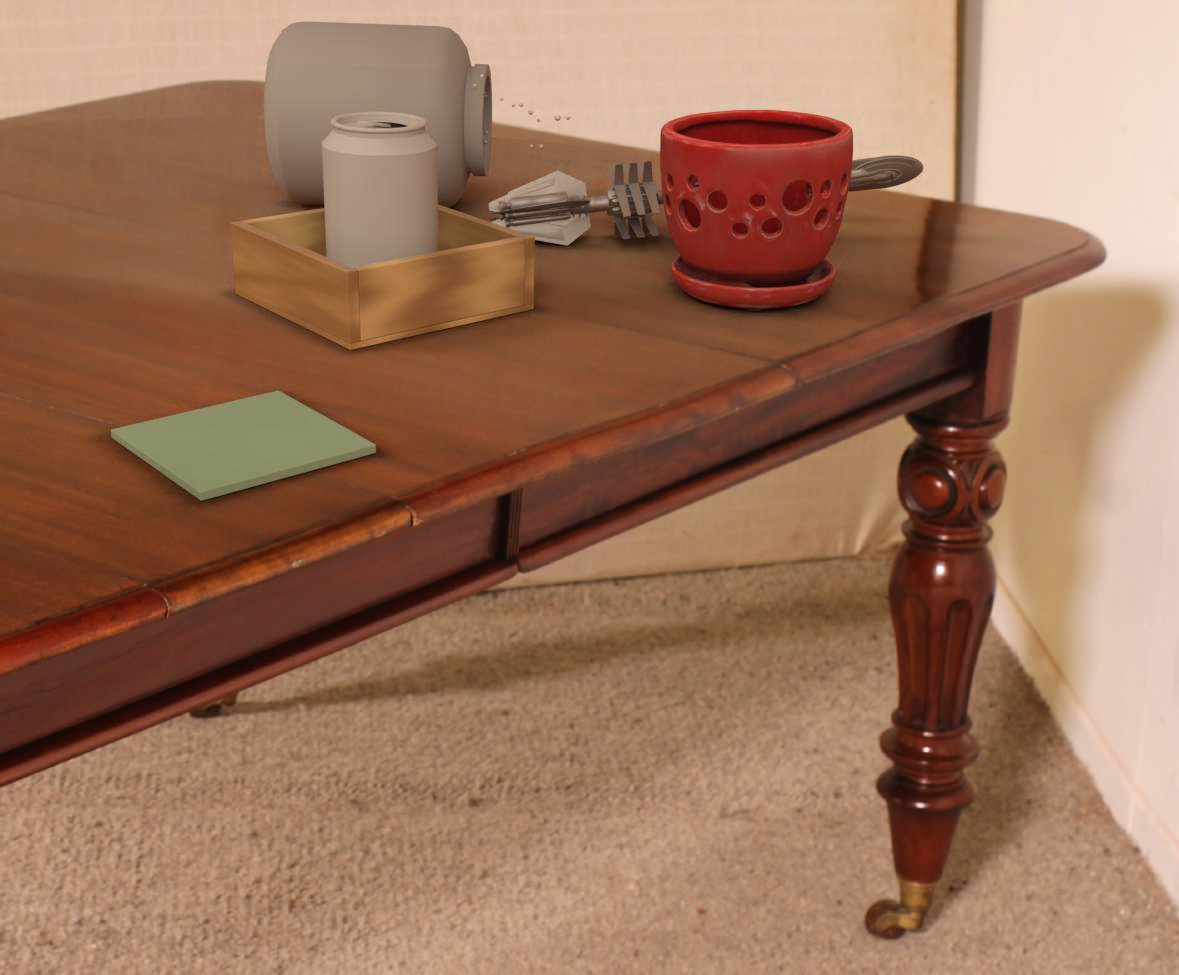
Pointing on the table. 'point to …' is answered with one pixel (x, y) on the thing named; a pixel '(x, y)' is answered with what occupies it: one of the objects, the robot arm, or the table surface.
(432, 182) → the can
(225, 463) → the mat
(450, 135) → the jar
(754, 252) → the flower pot
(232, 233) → the wooden box
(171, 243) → the table surface
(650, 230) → the spaceship
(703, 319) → the table surface
